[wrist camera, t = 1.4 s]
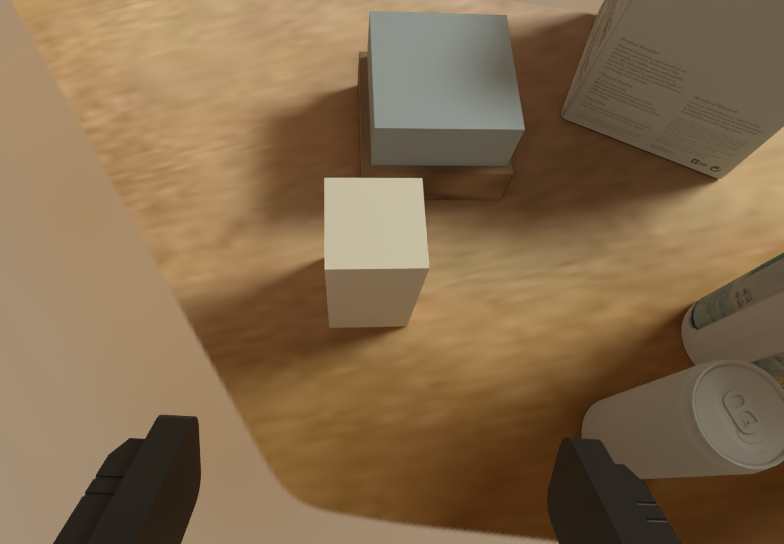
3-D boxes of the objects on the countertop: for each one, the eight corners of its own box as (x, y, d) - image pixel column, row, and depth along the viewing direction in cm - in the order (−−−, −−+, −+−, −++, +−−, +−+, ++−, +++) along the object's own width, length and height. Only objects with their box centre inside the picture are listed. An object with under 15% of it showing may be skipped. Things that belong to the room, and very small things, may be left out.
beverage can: (601, 493, 33) (732, 493, 22) (562, 416, 35) (667, 380, 23) (666, 461, 34) (824, 445, 23) (626, 387, 36) (756, 339, 24)
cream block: (402, 255, 38) (422, 177, 28) (406, 326, 36) (429, 268, 27) (328, 256, 37) (324, 177, 28) (329, 328, 35) (324, 269, 26)
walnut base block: (483, 91, 44) (496, 54, 40) (498, 202, 40) (513, 173, 37) (357, 89, 43) (359, 51, 39) (361, 203, 40) (362, 173, 36)
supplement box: (746, 61, 47) (957, -165, 31) (720, 183, 42) (956, -10, 26) (598, 6, 48) (728, -242, 32) (556, 119, 43) (685, -105, 27)
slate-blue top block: (491, 59, 40) (506, 15, 36) (506, 165, 37) (524, 129, 33) (367, 56, 39) (369, 11, 36) (371, 165, 36) (374, 127, 32)
